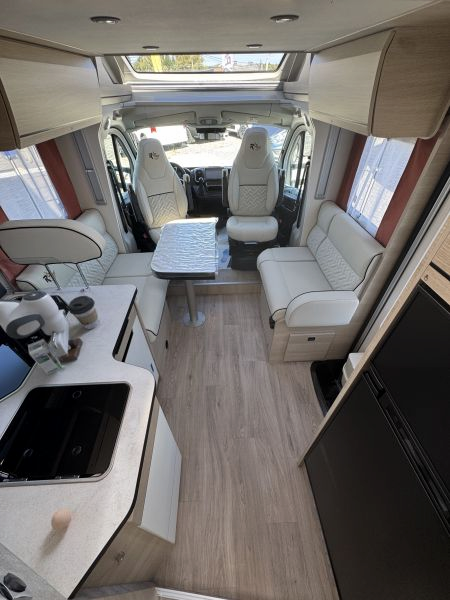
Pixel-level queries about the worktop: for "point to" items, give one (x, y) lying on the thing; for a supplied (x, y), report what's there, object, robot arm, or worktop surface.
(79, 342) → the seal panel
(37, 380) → the worktop surface
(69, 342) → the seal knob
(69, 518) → the egg
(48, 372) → the syrup box
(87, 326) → the coffee cup
